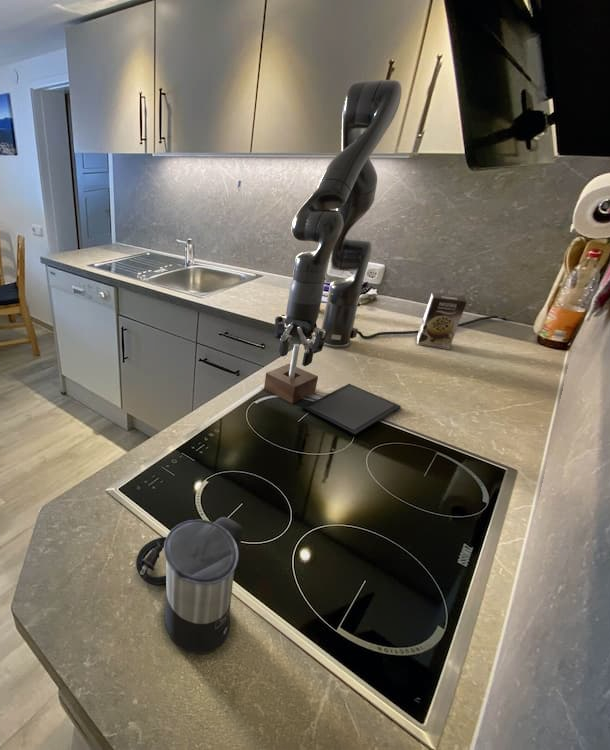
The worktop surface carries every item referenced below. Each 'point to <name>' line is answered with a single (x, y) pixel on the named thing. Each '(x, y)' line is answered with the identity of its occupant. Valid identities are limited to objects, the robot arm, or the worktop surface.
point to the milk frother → (196, 580)
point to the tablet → (351, 409)
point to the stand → (290, 383)
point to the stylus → (294, 360)
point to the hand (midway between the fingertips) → (294, 360)
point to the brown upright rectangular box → (441, 320)
